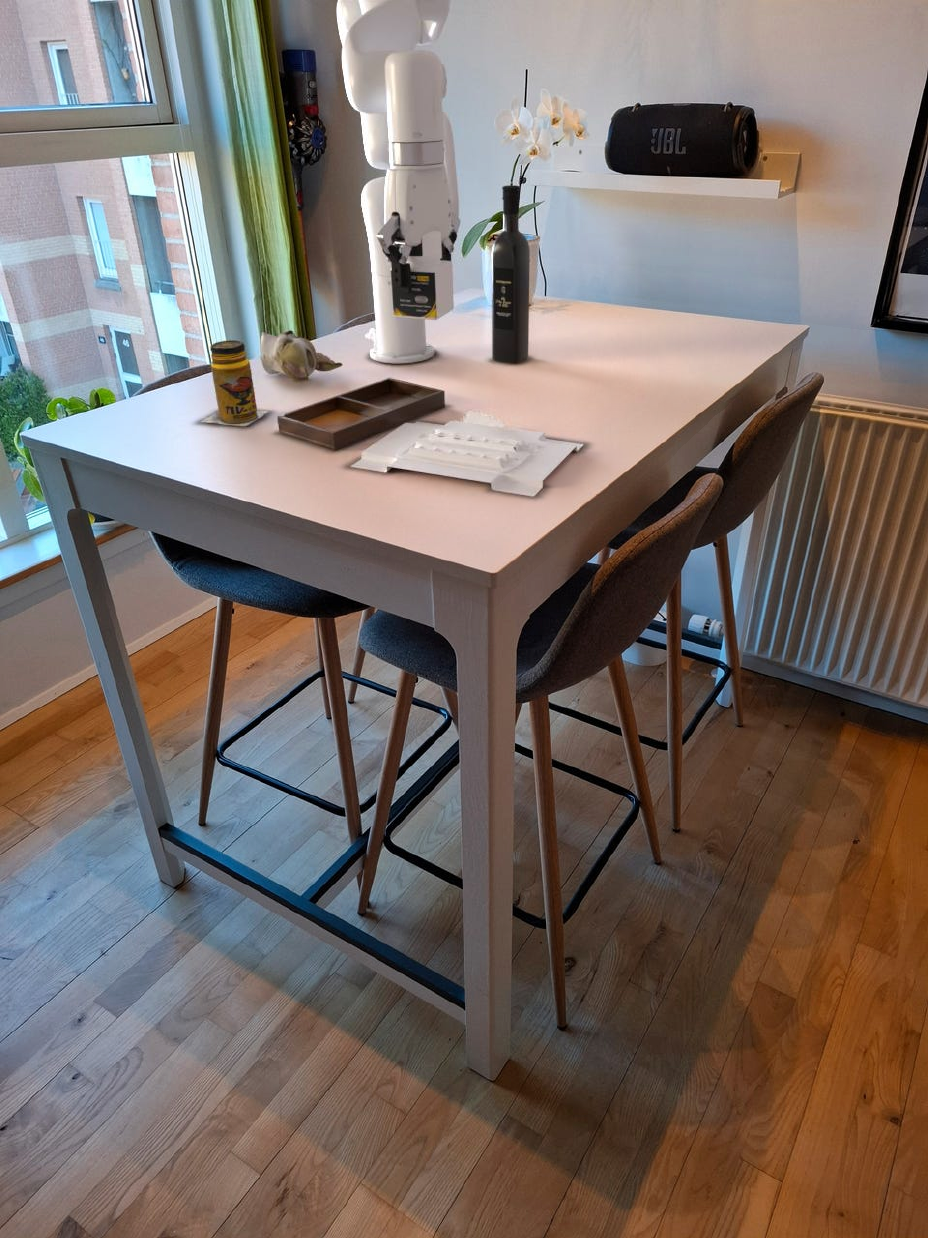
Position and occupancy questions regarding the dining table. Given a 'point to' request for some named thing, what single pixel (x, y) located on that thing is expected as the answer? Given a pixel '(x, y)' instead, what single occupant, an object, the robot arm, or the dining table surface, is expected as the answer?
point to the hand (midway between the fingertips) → (423, 285)
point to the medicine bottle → (426, 282)
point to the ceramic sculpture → (292, 356)
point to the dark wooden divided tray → (360, 413)
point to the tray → (471, 452)
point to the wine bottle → (510, 285)
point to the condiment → (233, 385)
